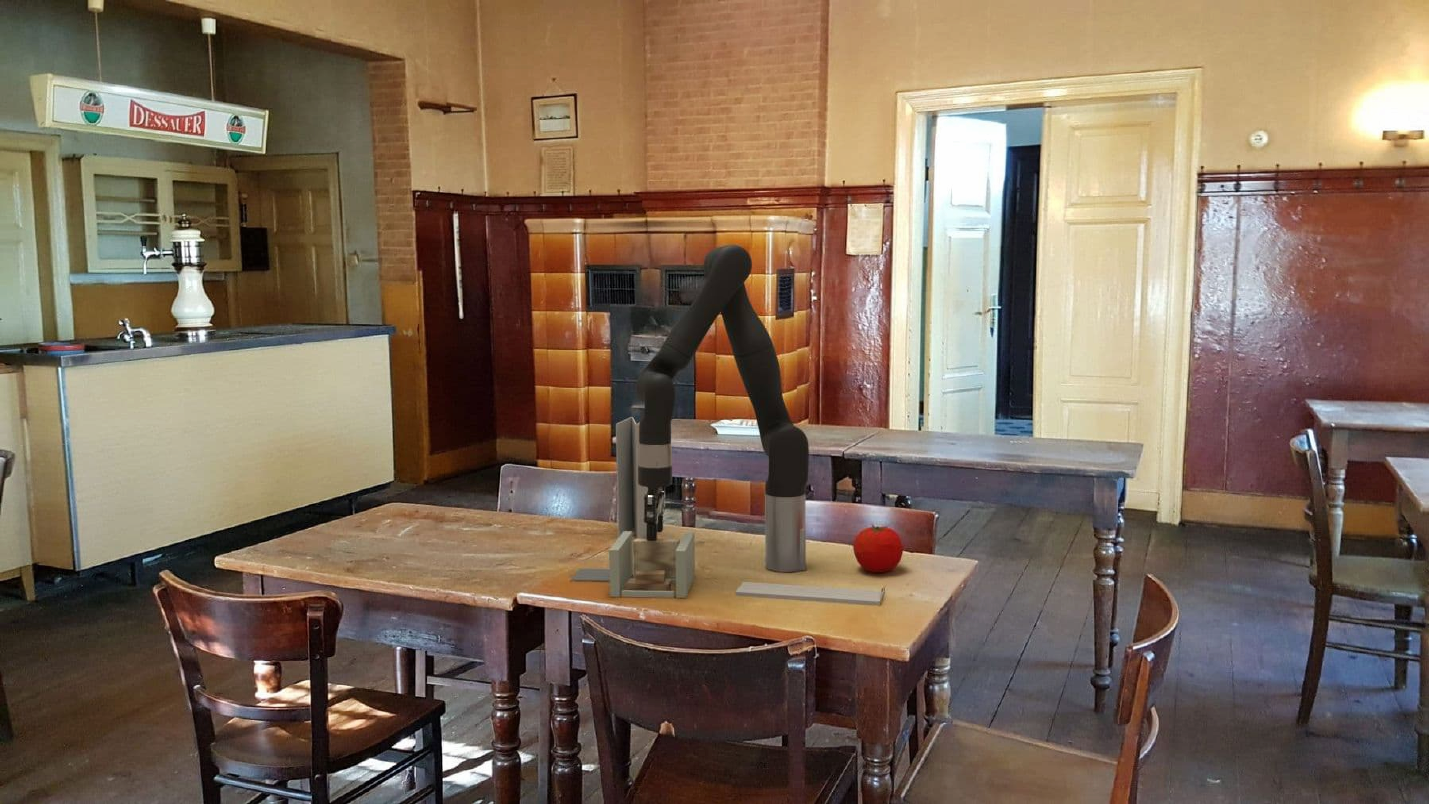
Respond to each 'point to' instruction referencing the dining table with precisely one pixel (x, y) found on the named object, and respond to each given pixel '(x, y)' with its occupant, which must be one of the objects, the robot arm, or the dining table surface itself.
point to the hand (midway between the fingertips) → (654, 536)
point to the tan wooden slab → (656, 556)
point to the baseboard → (811, 593)
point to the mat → (592, 575)
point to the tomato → (878, 549)
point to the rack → (624, 568)
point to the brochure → (629, 480)
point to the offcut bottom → (648, 586)
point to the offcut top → (649, 577)
